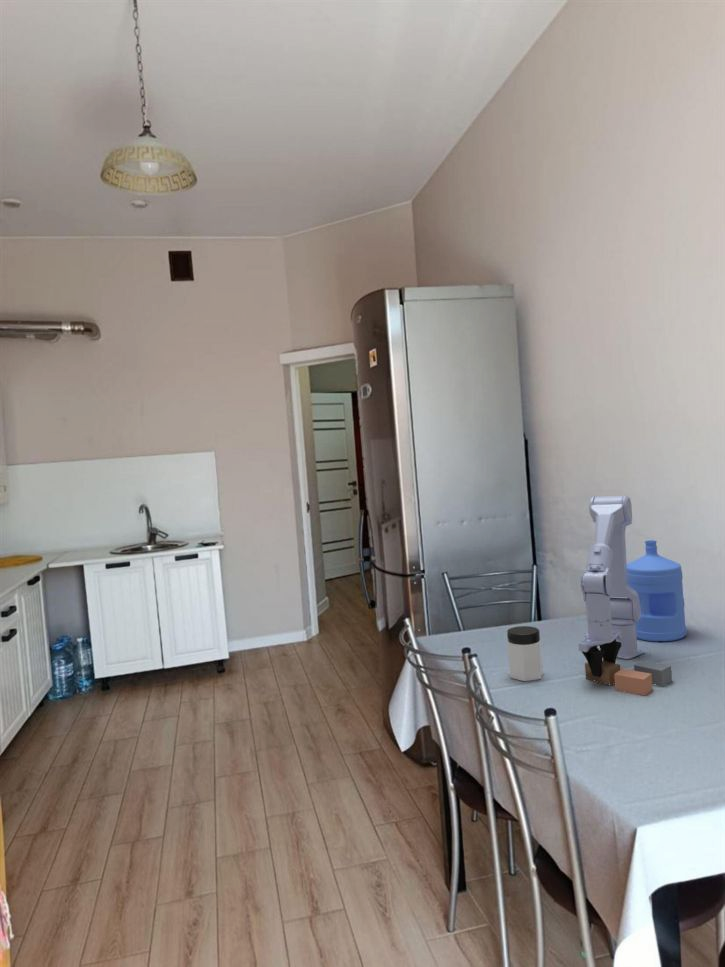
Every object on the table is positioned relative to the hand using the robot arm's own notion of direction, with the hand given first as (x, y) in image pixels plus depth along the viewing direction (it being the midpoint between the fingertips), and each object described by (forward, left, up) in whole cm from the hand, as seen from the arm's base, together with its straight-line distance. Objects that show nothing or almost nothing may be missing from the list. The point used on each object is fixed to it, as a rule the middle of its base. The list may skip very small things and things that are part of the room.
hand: (603, 673), depth 164 cm
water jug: (-11, +41, -2) cm, 42 cm away
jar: (-16, -10, -2) cm, 19 cm away
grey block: (+9, +7, -2) cm, 12 cm away
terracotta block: (+9, -1, -2) cm, 9 cm away
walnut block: (0, 0, -2) cm, 2 cm away
